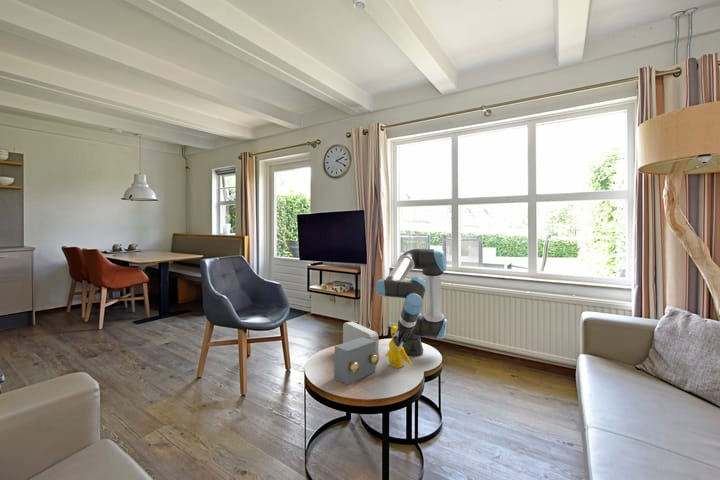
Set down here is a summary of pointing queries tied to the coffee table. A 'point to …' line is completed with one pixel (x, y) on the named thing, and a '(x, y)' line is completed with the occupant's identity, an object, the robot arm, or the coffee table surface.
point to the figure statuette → (396, 352)
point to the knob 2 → (373, 359)
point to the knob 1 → (354, 367)
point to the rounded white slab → (359, 333)
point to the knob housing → (354, 359)
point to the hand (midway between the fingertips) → (398, 347)
